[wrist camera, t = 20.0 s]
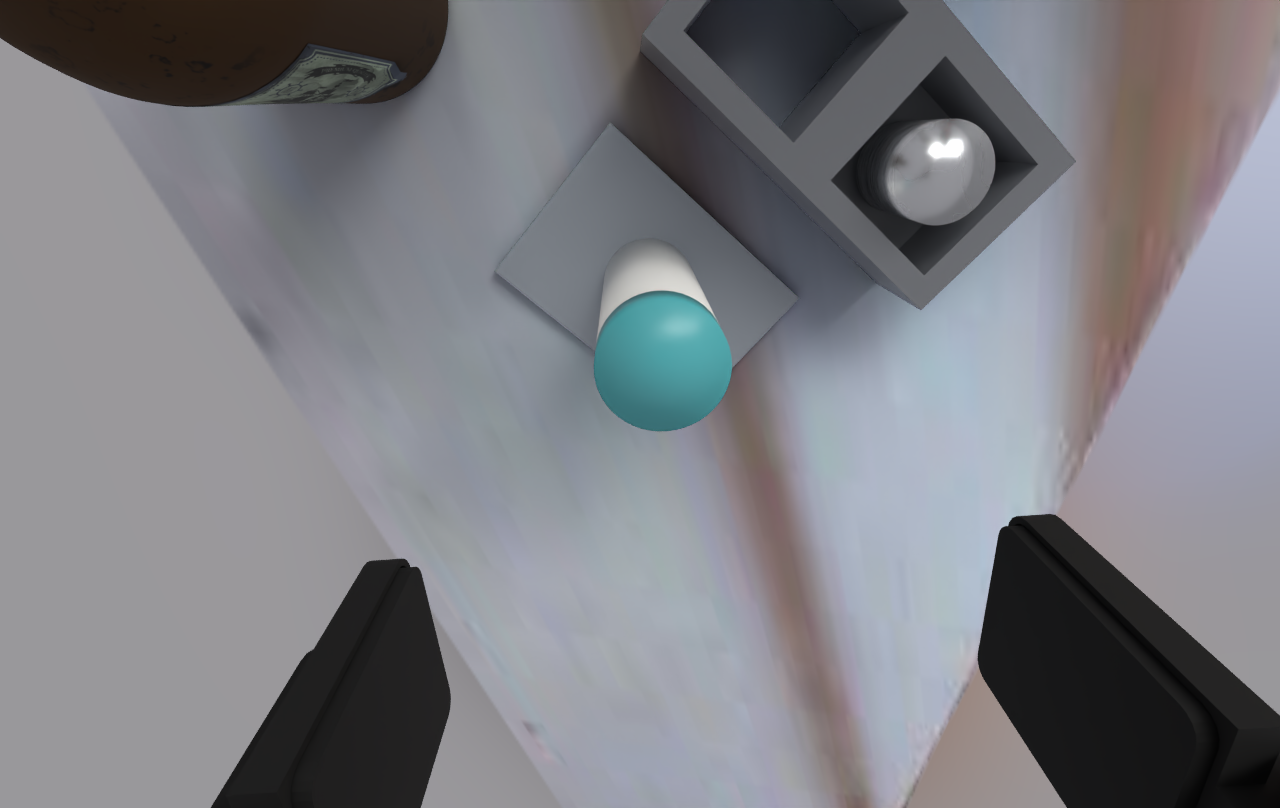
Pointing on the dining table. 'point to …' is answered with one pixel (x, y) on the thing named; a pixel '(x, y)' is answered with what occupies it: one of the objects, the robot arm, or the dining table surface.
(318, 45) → the olive oil
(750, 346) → the mat
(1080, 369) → the dining table surface
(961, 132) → the silver metallic cylinder
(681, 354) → the cylinder
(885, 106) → the housing
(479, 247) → the dining table surface
